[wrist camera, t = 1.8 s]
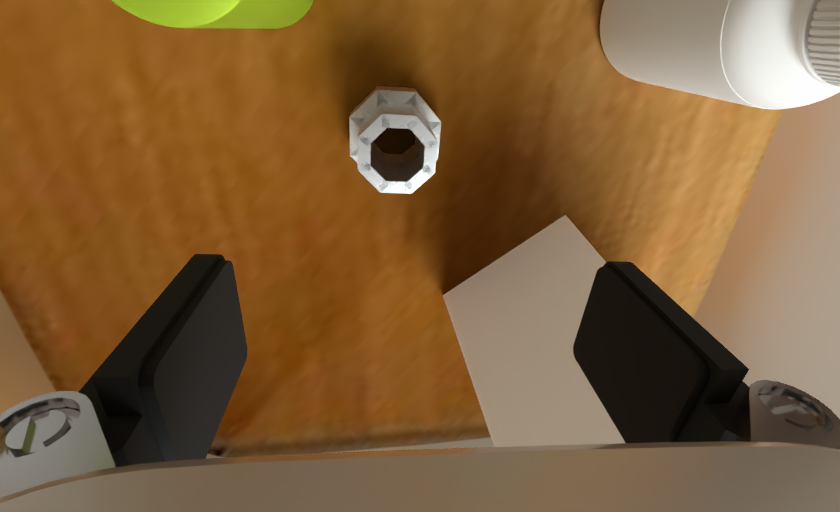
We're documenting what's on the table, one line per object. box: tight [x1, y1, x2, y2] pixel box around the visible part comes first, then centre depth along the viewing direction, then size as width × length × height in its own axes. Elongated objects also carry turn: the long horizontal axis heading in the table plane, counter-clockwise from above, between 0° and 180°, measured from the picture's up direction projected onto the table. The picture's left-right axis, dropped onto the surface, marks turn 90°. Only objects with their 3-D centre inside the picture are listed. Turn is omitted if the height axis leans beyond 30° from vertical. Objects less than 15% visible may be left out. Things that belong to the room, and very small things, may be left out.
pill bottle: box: [600, 0, 840, 109], centre depth 19 cm, size 8×8×15 cm
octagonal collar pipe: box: [349, 86, 441, 194], centre depth 25 cm, size 6×6×6 cm
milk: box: [443, 215, 625, 447], centre depth 25 cm, size 12×12×26 cm
